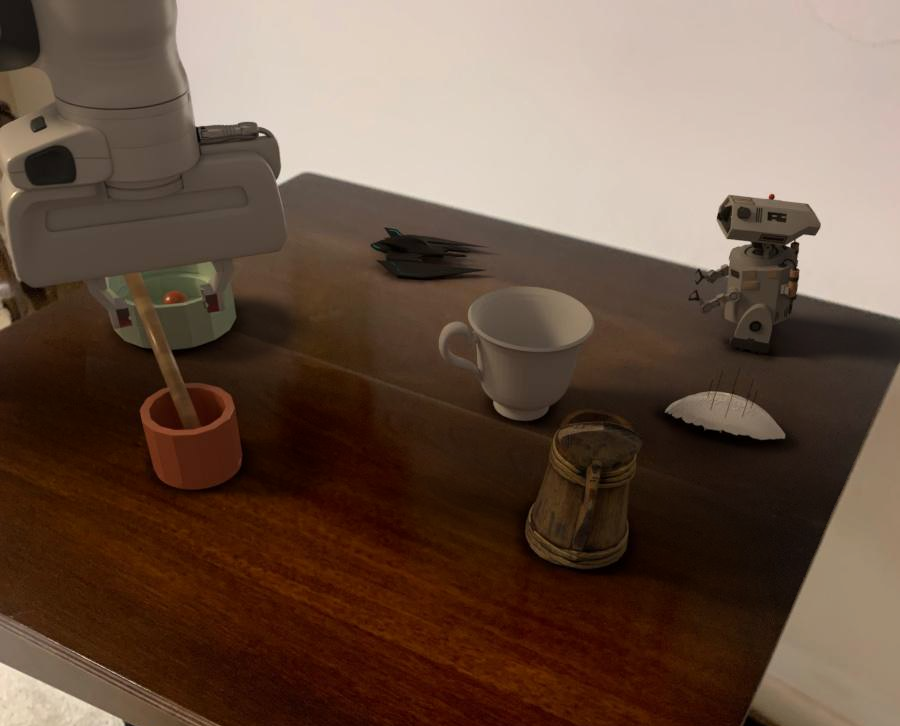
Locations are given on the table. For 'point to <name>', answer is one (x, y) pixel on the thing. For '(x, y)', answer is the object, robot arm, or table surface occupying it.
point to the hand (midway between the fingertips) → (168, 316)
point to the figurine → (759, 265)
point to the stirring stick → (162, 351)
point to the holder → (193, 438)
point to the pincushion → (726, 414)
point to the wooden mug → (585, 492)
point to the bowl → (176, 307)
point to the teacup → (522, 347)
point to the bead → (175, 298)
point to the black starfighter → (418, 255)
